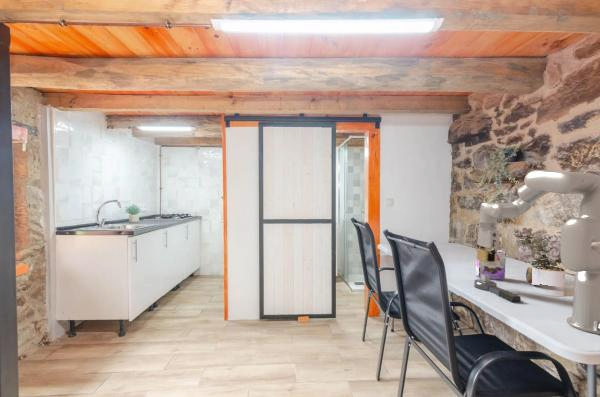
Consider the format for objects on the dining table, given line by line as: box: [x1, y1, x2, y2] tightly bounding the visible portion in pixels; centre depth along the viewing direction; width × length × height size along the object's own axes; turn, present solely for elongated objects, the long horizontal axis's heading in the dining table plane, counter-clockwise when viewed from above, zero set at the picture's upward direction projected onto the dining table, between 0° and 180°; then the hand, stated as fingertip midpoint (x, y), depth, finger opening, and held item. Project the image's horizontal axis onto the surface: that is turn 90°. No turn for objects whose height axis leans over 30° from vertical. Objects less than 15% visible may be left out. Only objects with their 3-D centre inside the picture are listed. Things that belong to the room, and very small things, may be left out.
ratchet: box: [474, 274, 522, 303], centre depth 151 cm, size 25×10×7 cm, turn 6°
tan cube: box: [476, 247, 497, 263], centre depth 158 cm, size 6×6×6 cm
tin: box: [525, 267, 533, 285], centre depth 167 cm, size 15×3×8 cm, turn 160°
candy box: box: [474, 249, 507, 281], centre depth 177 cm, size 14×6×16 cm, turn 76°
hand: (486, 259), depth 158 cm, fingers closed on tan cube, 6 cm apart
